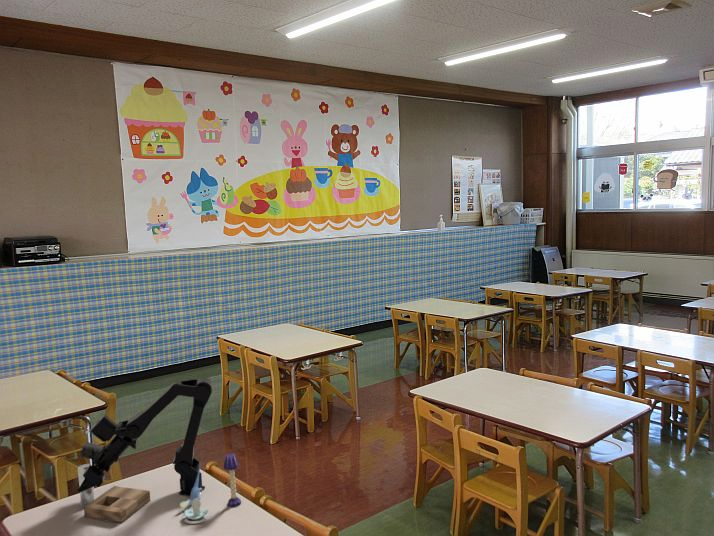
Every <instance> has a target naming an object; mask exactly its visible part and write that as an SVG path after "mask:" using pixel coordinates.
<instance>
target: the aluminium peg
mask: <svg viewBox="0 0 714 536" xmlns="http://www.w3.org/2000/svg"><path fill="white" fill-rule="evenodd" d="M89 466H92V463H91V464H90V463H85V464H81V465H79V466H78V467H77V474H78V483H79V487H80V485H81V484H82V482H83V481H84V479H85V478H84V476H83V474H84V472H85V470H87V468H88V467H89ZM79 487H78V488H79ZM94 492H95V491H94V487H92V488H89V489H87V490H85V491H83V492H80V493H79V495H80V498H79V499H80V507H81V508H83V509H84V506H86V505H87V504H89V503H90V502H92V501H93V500H95V493H94Z"/></svg>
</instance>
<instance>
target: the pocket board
mask: <svg viewBox="0 0 714 536" xmlns="http://www.w3.org/2000/svg"><path fill="white" fill-rule="evenodd" d="M150 502H151V492H150V490H144V489H139V488H130V487H124V486H123V487H122V486H118V485H117V486H116V485H114V486H112V487H111V488H109V489H108V490H106V491H105V492H103V493H102V494H100V495H99V496H98V497H96V498H94V500H93V501H92V502H90V503H89V504H87V505H86V506H84V508H83V513H84V514H83V515H84V519H85V518H86V519H92V520H98V521H103V522H104V521H105V522H112V523H117V524H123V523H124V522H126V521H128V519H130V518H131V517H132V516H133V515H135V514H136V513H137V512H138V511H140V510H141V509H143V507H144V506H146V505H147V504H148V503H150Z"/></svg>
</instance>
